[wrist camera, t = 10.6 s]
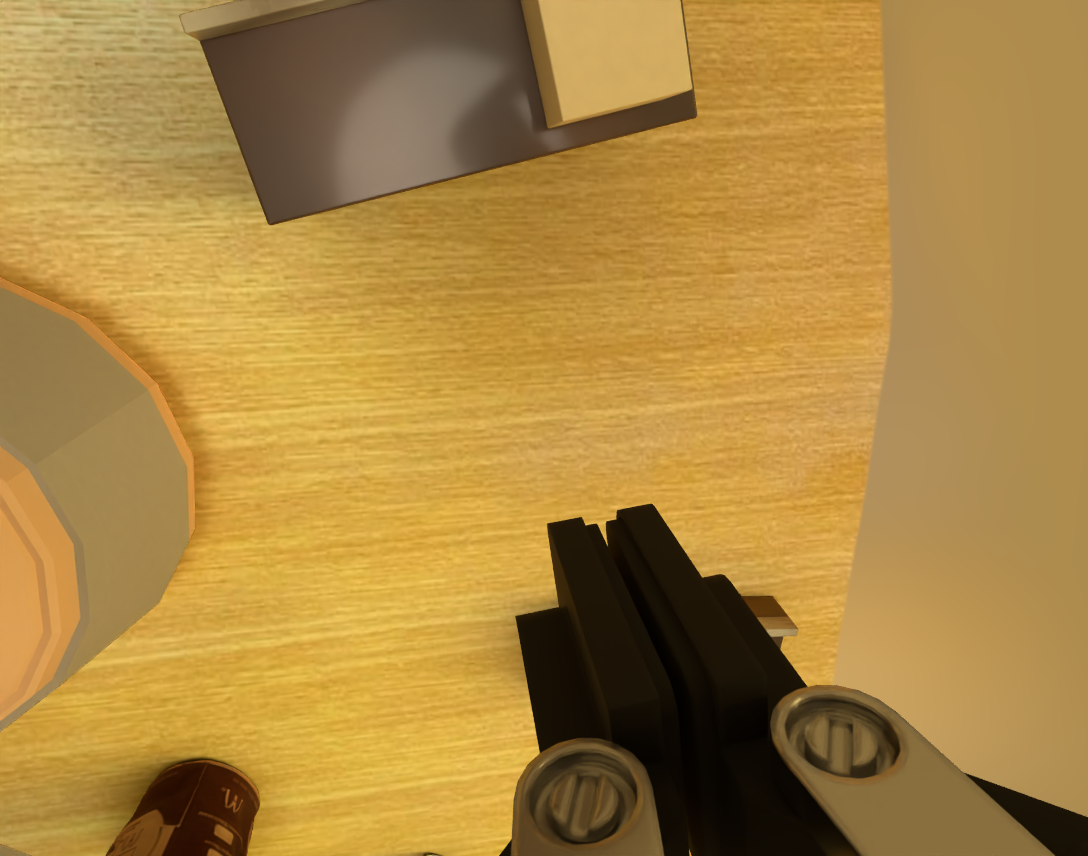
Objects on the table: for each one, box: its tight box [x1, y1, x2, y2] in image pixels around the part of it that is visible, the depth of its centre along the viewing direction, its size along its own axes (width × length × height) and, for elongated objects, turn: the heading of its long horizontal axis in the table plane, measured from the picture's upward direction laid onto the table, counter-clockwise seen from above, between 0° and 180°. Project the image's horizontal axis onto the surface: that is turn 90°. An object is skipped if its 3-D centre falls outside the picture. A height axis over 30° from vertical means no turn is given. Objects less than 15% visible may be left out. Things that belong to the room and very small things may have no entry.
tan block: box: [521, 0, 692, 128], centre depth 20 cm, size 4×4×3 cm
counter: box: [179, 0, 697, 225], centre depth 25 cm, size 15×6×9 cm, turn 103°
